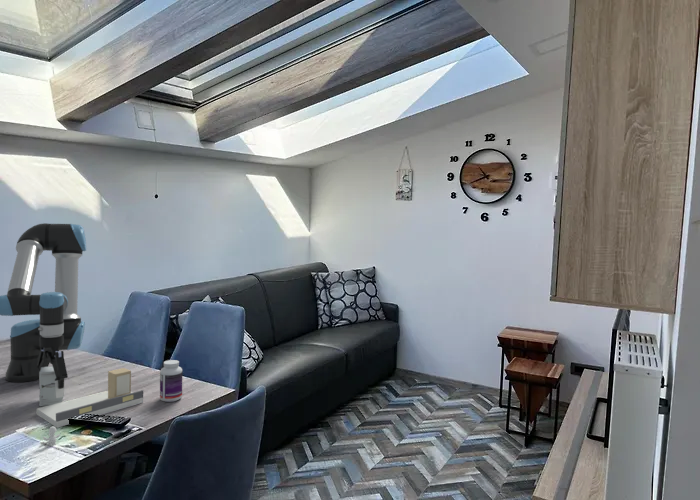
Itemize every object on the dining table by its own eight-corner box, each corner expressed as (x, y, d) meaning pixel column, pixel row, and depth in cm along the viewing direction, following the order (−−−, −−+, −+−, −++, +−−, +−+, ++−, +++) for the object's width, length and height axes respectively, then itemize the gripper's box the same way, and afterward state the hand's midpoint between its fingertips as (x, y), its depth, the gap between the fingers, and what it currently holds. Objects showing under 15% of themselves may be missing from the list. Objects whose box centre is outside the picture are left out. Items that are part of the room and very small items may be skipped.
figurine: (30, 448, 148) (30, 428, 148) (53, 438, 155) (53, 419, 155) (49, 453, 145) (49, 433, 145) (72, 443, 153) (72, 424, 152)
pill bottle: (186, 397, 193) (187, 360, 192) (172, 404, 185) (173, 366, 184) (169, 393, 195) (169, 357, 194) (154, 400, 188) (155, 363, 187)
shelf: (36, 414, 171) (36, 401, 171) (121, 392, 195) (121, 380, 195) (57, 427, 162) (57, 414, 161) (143, 402, 185) (143, 390, 185)
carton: (107, 397, 183) (108, 371, 183) (123, 393, 188) (124, 367, 187) (115, 401, 180) (115, 374, 180) (130, 397, 185) (131, 370, 184)
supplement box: (38, 407, 178) (38, 372, 177) (40, 399, 184) (40, 366, 183) (62, 404, 181) (62, 370, 180) (63, 397, 188) (63, 364, 187)
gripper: (26, 331, 185) (26, 386, 187) (55, 343, 170) (55, 403, 172) (48, 328, 191) (48, 382, 193) (78, 339, 176) (78, 398, 178)
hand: (51, 392), depth 182 cm, fingers open, 13 cm apart
